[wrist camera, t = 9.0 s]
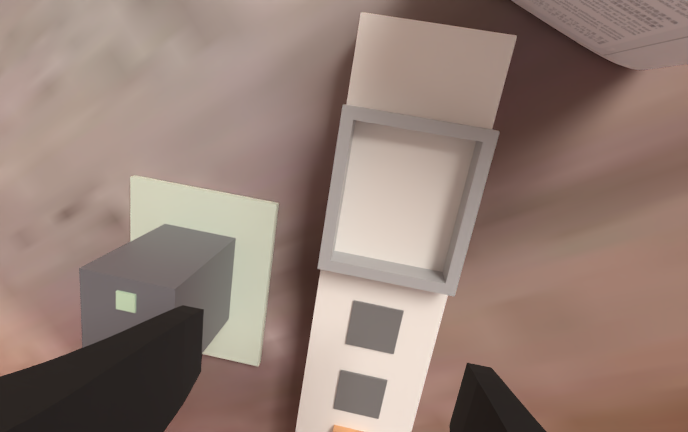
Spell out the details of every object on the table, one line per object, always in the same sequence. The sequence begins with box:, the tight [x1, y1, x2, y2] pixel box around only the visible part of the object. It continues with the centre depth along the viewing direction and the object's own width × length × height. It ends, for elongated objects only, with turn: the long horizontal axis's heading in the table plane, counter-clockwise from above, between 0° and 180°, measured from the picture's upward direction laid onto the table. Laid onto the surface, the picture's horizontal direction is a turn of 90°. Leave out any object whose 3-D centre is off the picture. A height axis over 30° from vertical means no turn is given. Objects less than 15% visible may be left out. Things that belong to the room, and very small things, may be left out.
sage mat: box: [130, 175, 279, 366], centre depth 22 cm, size 10×8×1 cm
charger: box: [79, 224, 236, 353], centre depth 19 cm, size 5×4×6 cm
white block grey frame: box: [295, 12, 517, 432], centre depth 19 cm, size 22×6×4 cm, turn 171°
